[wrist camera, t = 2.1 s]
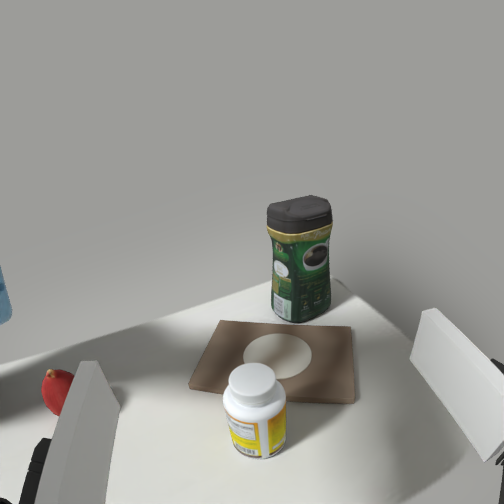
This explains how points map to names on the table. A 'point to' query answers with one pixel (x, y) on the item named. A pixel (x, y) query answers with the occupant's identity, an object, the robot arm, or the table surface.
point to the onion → (56, 389)
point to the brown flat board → (282, 359)
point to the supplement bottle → (255, 410)
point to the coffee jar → (300, 257)
